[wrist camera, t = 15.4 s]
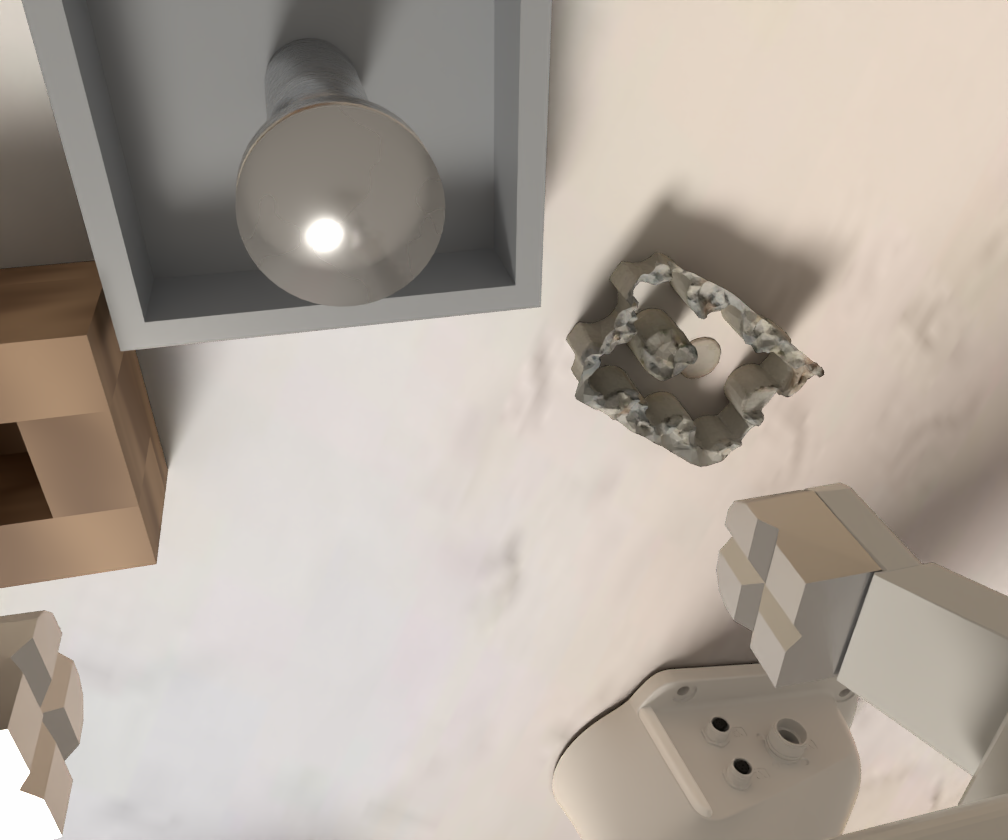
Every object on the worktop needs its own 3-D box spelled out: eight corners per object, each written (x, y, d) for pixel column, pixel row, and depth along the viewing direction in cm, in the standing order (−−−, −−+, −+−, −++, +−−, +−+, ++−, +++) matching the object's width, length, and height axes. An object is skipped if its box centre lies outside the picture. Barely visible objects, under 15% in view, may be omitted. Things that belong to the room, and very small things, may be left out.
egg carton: (792, 331, 42) (838, 373, 39) (691, 442, 45) (727, 490, 42) (644, 222, 37) (683, 261, 34) (538, 355, 39) (566, 403, 36)
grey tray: (517, -175, 27) (558, -176, 24) (511, 259, 36) (540, 306, 32) (10, -182, 24) (-31, -183, 21) (134, 294, 33) (120, 351, 29)
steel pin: (377, 10, 29) (442, 100, 19) (386, 153, 31) (448, 296, 22) (228, 14, 28) (217, 112, 18) (251, 162, 30) (253, 316, 21)
